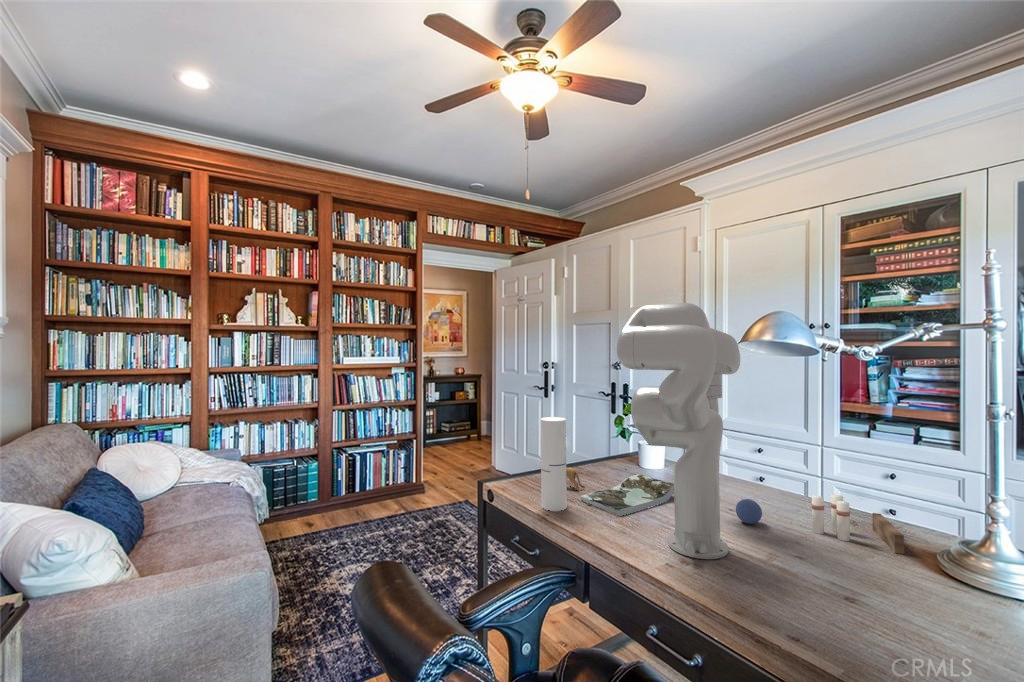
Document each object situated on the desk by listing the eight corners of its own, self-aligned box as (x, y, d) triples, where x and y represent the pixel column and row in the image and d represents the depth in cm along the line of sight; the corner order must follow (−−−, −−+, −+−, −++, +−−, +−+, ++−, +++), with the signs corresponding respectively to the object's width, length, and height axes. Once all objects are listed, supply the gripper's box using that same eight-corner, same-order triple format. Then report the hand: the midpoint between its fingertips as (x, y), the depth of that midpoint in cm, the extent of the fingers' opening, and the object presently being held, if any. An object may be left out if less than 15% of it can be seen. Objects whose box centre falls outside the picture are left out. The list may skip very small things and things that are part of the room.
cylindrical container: (565, 512, 124) (564, 421, 125) (539, 510, 126) (539, 420, 126) (567, 503, 131) (566, 417, 132) (543, 501, 133) (542, 416, 133)
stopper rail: (904, 554, 97) (903, 535, 97) (895, 553, 98) (894, 534, 98) (880, 530, 110) (880, 513, 110) (872, 529, 111) (872, 512, 111)
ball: (763, 529, 111) (763, 504, 111) (736, 525, 114) (736, 501, 114) (760, 520, 117) (760, 497, 117) (735, 517, 119) (734, 494, 119)
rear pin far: (845, 533, 108) (845, 498, 108) (832, 532, 109) (832, 497, 109) (842, 529, 111) (841, 495, 111) (830, 528, 112) (829, 493, 112)
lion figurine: (538, 487, 146) (538, 459, 147) (543, 483, 151) (542, 456, 152) (583, 492, 141) (583, 463, 142) (586, 487, 146) (586, 459, 147)
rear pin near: (852, 542, 104) (851, 505, 104) (838, 540, 105) (837, 503, 105) (848, 537, 106) (847, 501, 106) (835, 536, 107) (834, 500, 107)
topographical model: (620, 519, 120) (617, 500, 121) (582, 509, 133) (579, 492, 133) (680, 496, 134) (678, 479, 135) (640, 489, 147) (638, 474, 148)
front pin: (826, 534, 108) (825, 499, 108) (813, 533, 109) (812, 497, 109) (823, 530, 110) (822, 495, 110) (810, 529, 111) (810, 494, 111)
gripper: (723, 395, 110) (724, 469, 110) (720, 389, 126) (721, 454, 126) (690, 394, 113) (691, 467, 113) (692, 388, 129) (693, 452, 129)
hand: (707, 459), depth 119 cm, fingers open, 4 cm apart
